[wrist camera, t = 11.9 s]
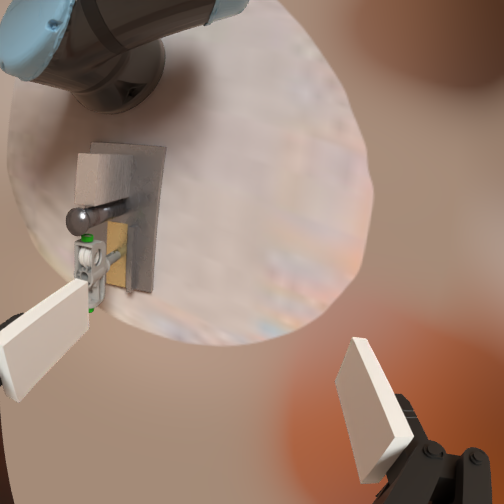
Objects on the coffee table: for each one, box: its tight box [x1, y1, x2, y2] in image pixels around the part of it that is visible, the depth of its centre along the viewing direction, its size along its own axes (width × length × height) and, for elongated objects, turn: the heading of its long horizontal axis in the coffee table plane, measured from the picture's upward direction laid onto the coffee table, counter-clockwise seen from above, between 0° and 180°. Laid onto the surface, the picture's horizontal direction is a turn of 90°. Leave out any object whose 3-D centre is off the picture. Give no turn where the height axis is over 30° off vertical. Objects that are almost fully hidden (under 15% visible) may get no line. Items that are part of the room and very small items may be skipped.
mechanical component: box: [74, 234, 121, 313], centre depth 40 cm, size 3×10×10 cm, turn 170°
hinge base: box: [66, 142, 166, 293], centre depth 38 cm, size 22×12×13 cm, turn 171°
